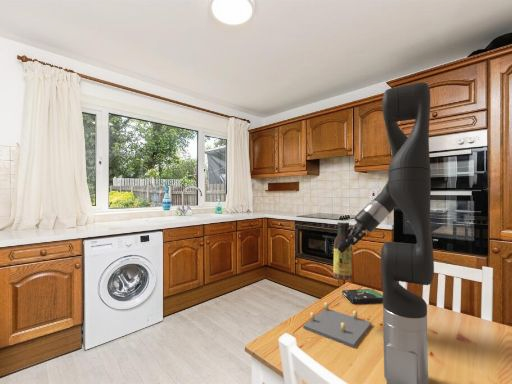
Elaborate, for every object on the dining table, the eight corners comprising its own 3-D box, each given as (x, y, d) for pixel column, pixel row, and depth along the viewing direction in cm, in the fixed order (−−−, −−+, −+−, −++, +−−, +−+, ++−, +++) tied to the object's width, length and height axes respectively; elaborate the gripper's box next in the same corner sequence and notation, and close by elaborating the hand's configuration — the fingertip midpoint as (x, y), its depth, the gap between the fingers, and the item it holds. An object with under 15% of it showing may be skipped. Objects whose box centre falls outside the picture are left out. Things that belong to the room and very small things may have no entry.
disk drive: (352, 306, 104) (386, 303, 105) (352, 299, 104) (386, 297, 105) (341, 296, 114) (372, 294, 115) (341, 290, 114) (372, 288, 115)
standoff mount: (353, 347, 74) (353, 335, 74) (303, 328, 85) (303, 318, 85) (371, 325, 87) (371, 315, 87) (325, 310, 98) (325, 301, 98)
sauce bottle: (339, 281, 86) (339, 223, 87) (330, 276, 92) (329, 221, 93) (356, 280, 88) (355, 222, 88) (345, 274, 94) (344, 221, 94)
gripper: (357, 208, 97) (326, 238, 98) (370, 209, 83) (333, 244, 84) (372, 221, 96) (340, 252, 97) (387, 225, 82) (350, 261, 83)
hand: (337, 248), depth 90 cm, fingers closed on sauce bottle, 6 cm apart
